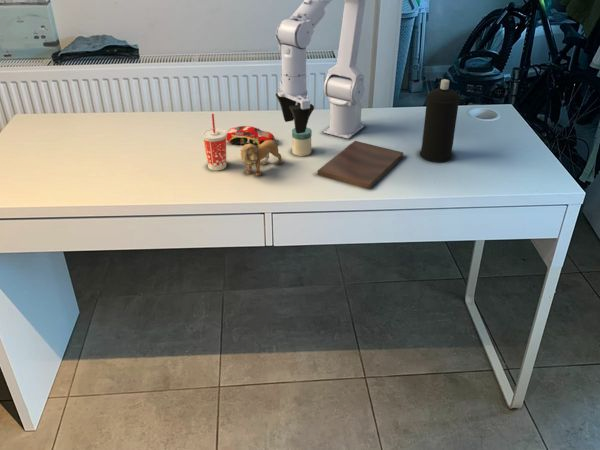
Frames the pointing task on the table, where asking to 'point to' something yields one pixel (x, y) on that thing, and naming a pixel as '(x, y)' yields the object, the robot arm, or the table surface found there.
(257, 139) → the race car
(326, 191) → the table surface
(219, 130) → the beverage cup
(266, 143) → the lion figurine
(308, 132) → the cream jar
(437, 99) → the aerosol can
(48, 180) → the table surface
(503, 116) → the table surface
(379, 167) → the walnut board
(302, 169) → the table surface
